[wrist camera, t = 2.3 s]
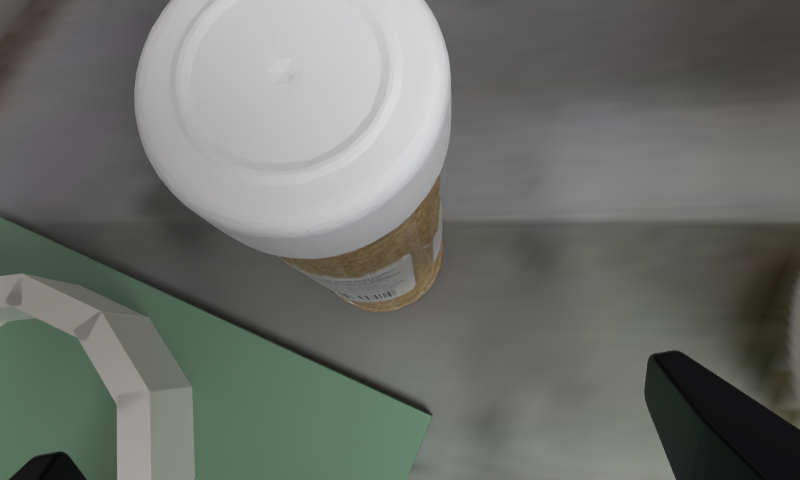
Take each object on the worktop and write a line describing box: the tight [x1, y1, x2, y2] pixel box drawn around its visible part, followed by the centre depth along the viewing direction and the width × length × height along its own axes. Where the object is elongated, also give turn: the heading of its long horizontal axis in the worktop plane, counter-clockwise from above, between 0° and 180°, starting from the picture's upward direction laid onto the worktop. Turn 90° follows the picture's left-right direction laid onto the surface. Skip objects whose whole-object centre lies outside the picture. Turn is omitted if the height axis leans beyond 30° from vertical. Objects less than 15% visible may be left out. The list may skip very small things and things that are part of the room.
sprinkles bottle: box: [134, 0, 451, 312], centre depth 14 cm, size 5×5×13 cm
